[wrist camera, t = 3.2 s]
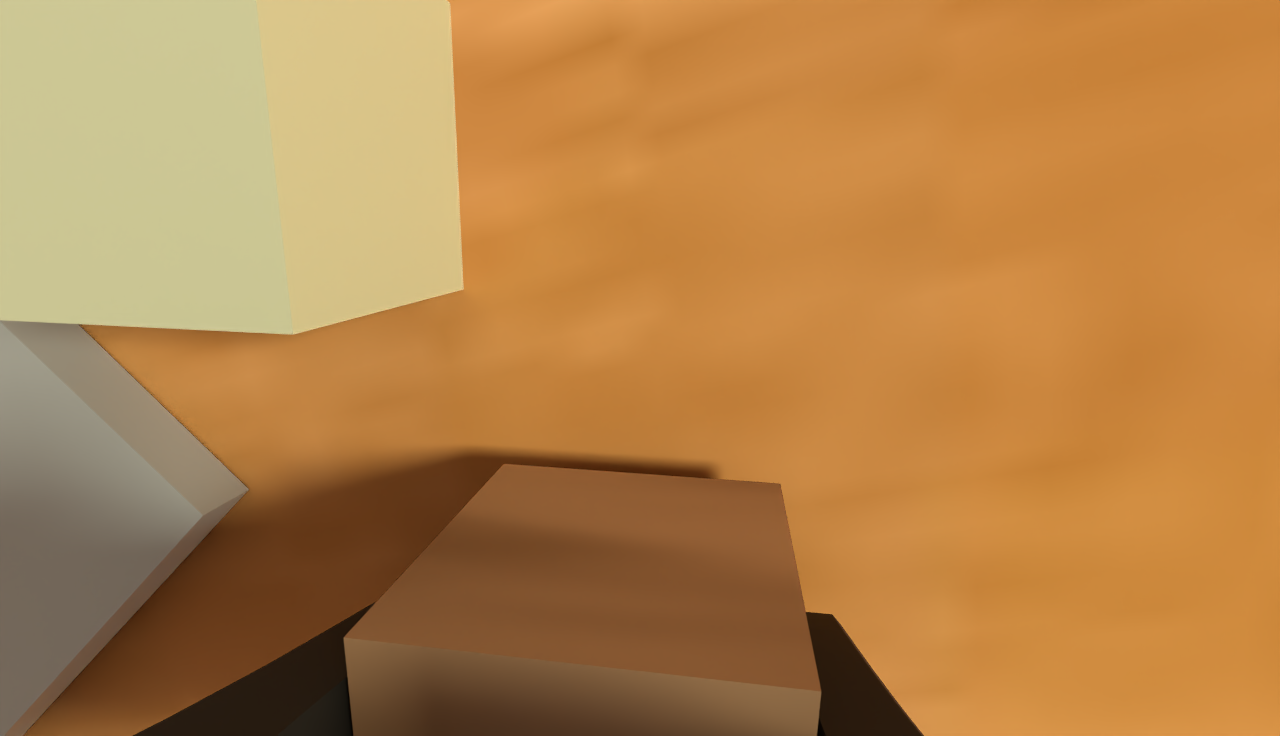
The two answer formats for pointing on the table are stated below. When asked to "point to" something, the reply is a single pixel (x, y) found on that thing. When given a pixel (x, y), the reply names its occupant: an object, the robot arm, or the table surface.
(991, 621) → the table surface
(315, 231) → the sage cube
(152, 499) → the baseplate
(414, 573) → the walnut cube
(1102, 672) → the table surface
